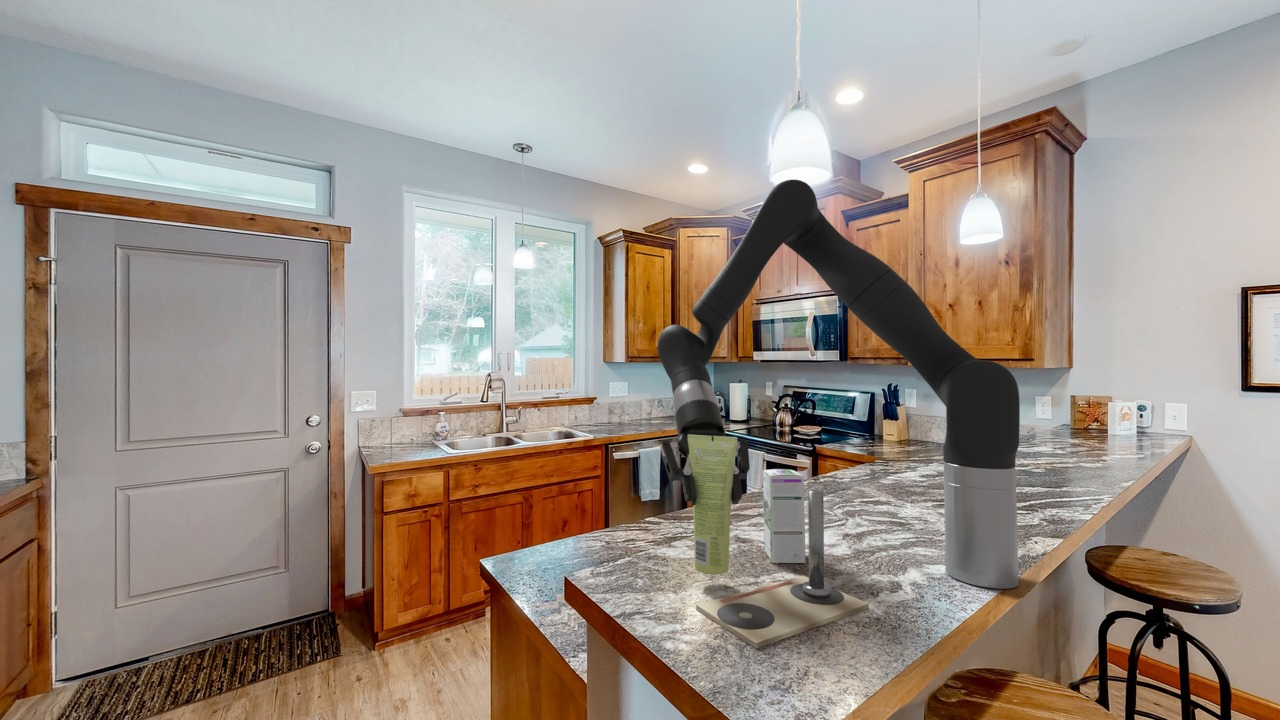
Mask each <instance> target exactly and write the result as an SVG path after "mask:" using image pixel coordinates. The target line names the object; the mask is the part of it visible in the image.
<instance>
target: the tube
mask: <svg viewBox="0 0 1280 720" xmlns="http://www.w3.org/2000/svg"><path fill="white" fill-rule="evenodd" d="M737 442H738V436H727V437H721V436H704V435H689V434H688V446H689V453H690V464H691V469H692V473H691V476H693V478H694V483H695V489H696V495H697V500H696V504H695V505H692V508H693V509H692V515H693V546H694V547H693V551H694V562H693V563H694V568H695V571H697V572H700V573H702V574H704V575H705V574H706V575H713V576H715V575H722V574H723V575H724V574H726V573H727V572H728V571H729V567H730V566H729V564H730V563H729V562H730V536H731V535H730V533H731V532H730V531H731V529H730V528H731V509H732V508H731V507H732V500H731V497H732V483H733V471H734V465H735V459H736V456H735V452H736V446H737Z"/></svg>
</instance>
